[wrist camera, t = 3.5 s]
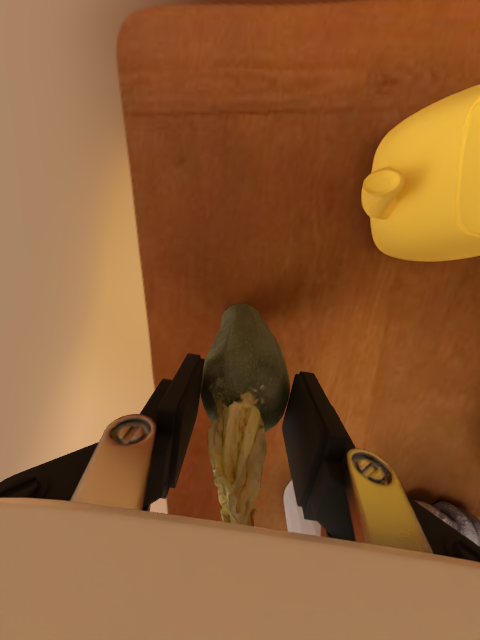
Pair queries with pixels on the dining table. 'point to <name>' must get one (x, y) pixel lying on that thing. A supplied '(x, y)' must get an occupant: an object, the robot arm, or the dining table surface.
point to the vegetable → (242, 406)
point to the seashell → (456, 519)
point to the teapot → (428, 183)
